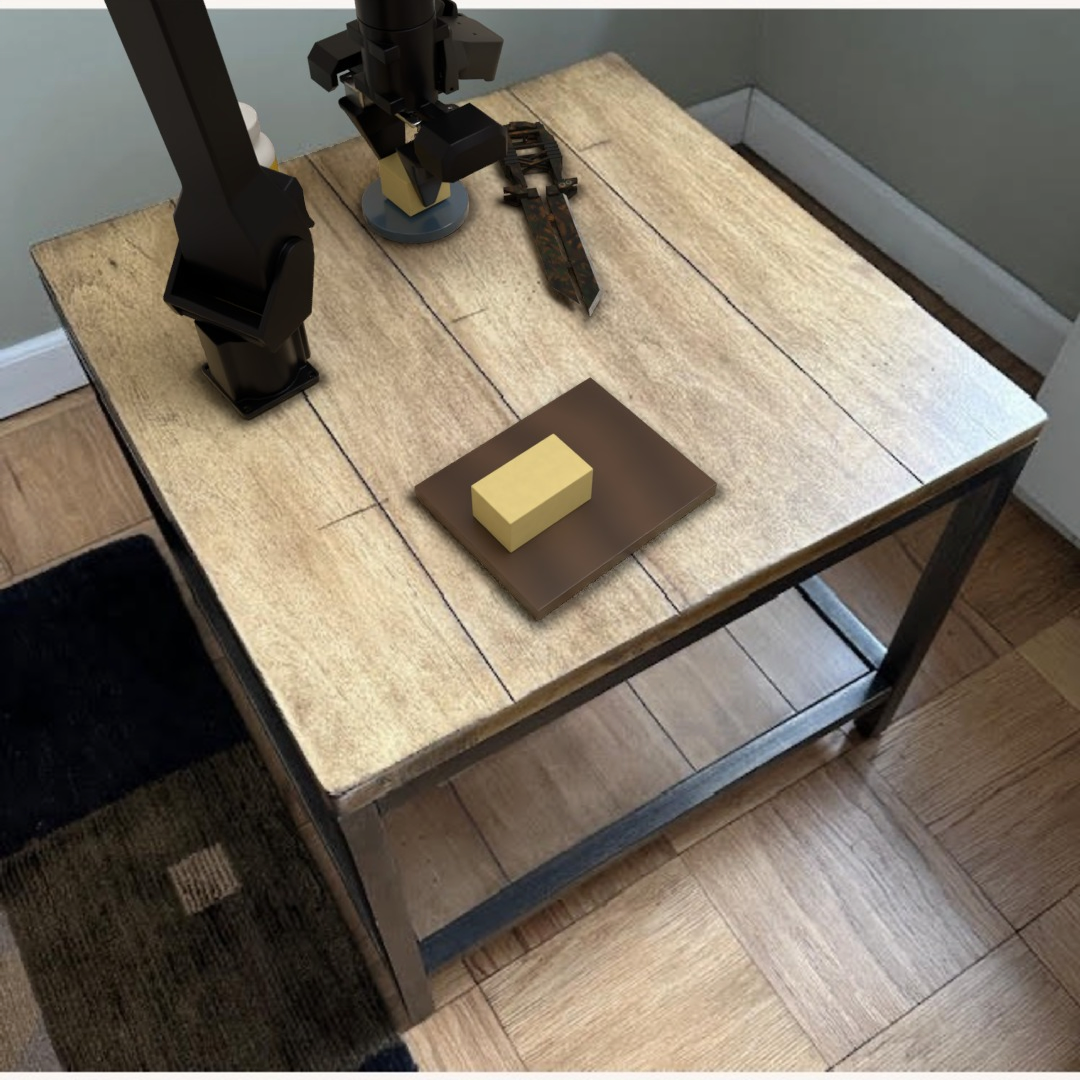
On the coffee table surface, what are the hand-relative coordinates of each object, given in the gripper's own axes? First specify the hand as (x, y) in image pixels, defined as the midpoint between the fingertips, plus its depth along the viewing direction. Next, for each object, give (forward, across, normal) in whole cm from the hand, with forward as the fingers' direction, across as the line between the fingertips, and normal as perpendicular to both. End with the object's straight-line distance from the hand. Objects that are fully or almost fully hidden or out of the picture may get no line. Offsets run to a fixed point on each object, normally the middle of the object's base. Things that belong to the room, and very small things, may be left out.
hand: (414, 192), depth 92 cm
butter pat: (0, 0, 0) cm, 0 cm away
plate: (+2, 0, 0) cm, 2 cm away
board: (+2, -32, +10) cm, 33 cm away
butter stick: (+1, -32, +14) cm, 34 cm away
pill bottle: (+2, +6, +12) cm, 14 cm away
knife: (+2, -8, -8) cm, 12 cm away
